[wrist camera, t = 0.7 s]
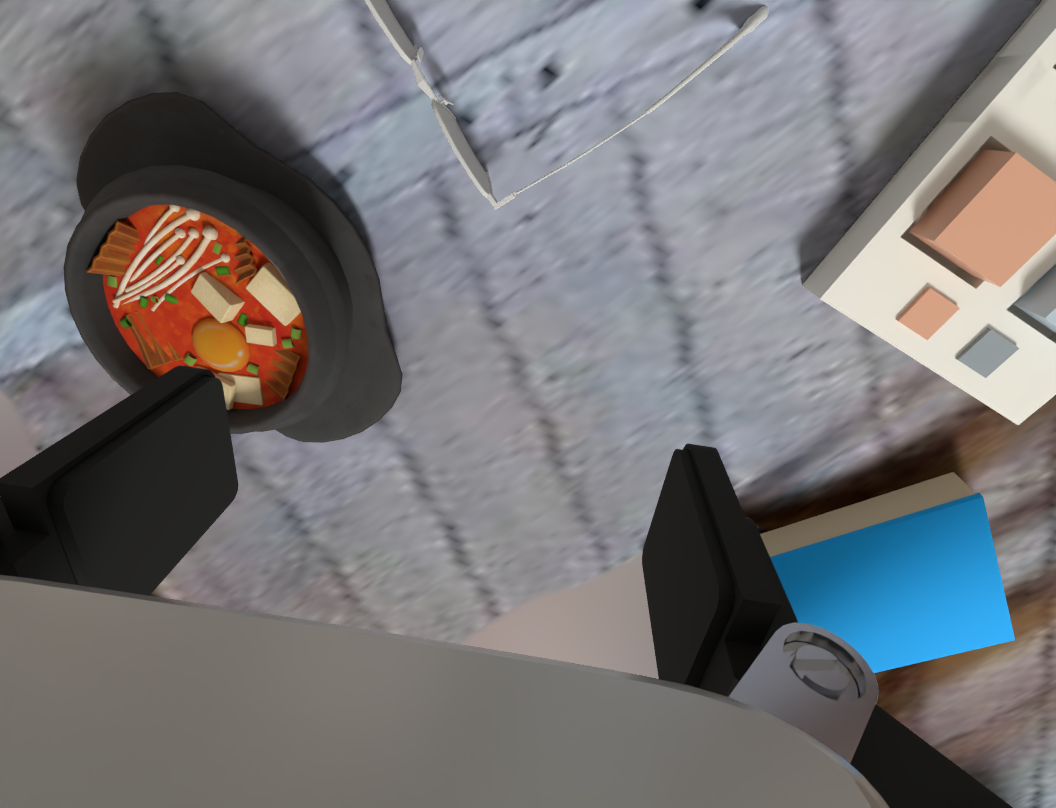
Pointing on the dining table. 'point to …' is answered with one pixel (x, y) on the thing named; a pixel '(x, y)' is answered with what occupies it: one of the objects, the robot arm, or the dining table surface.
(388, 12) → the eyeglasses
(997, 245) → the key terracotta
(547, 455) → the dining table surface
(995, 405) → the keypad
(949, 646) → the book
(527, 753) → the robot arm
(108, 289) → the casserole
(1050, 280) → the key blue
